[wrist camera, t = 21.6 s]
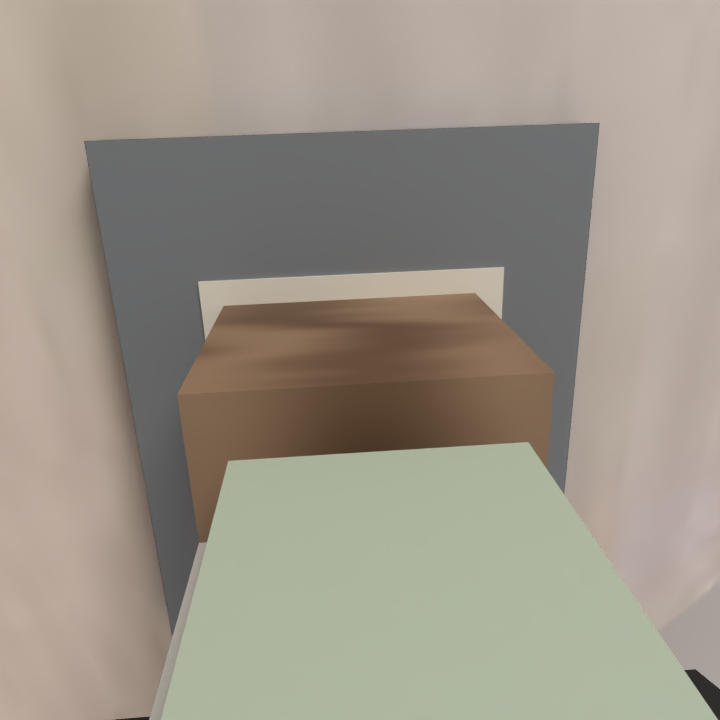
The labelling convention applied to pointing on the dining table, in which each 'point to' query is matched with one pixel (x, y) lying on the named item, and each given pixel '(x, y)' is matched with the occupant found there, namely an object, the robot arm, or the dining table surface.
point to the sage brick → (415, 598)
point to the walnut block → (357, 384)
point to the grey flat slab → (332, 255)
